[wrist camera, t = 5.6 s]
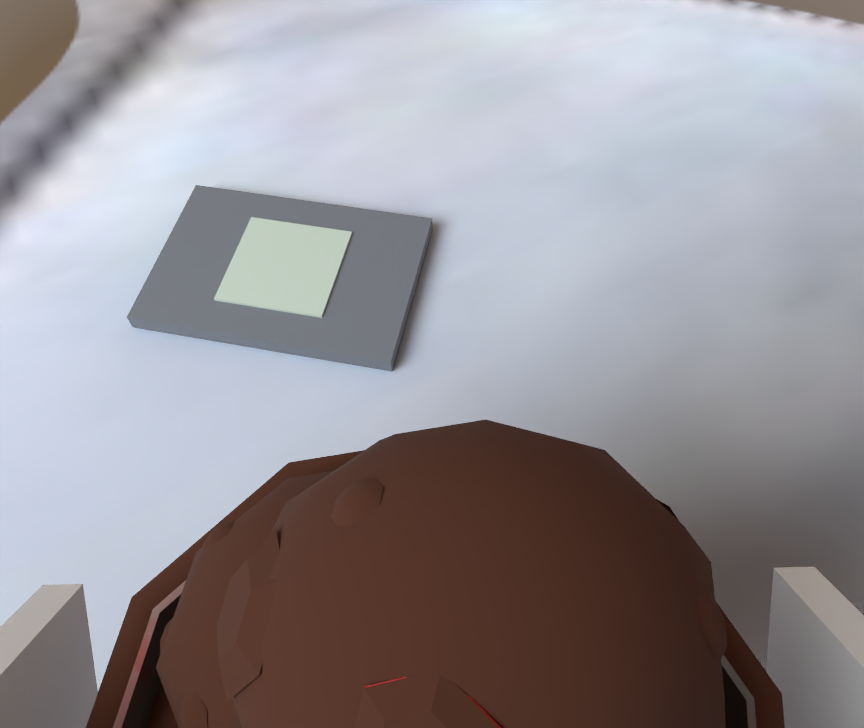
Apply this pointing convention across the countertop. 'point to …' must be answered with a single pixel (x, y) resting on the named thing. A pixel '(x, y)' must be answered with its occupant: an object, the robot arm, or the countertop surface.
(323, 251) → the mat
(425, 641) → the ice cream bowl
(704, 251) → the countertop surface
